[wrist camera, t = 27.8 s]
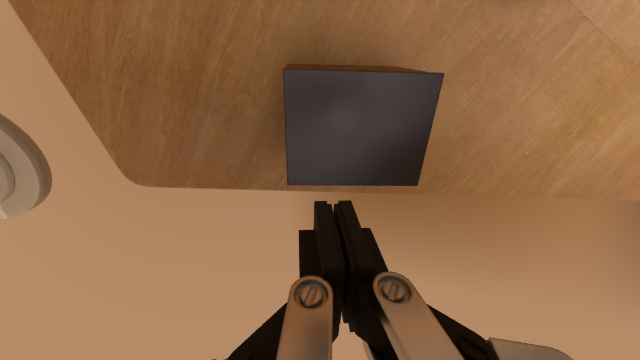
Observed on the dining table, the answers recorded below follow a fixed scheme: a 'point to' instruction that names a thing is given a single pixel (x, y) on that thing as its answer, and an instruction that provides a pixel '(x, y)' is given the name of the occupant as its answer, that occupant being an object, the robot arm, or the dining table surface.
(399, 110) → the lid
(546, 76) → the dining table surface
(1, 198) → the robot arm
